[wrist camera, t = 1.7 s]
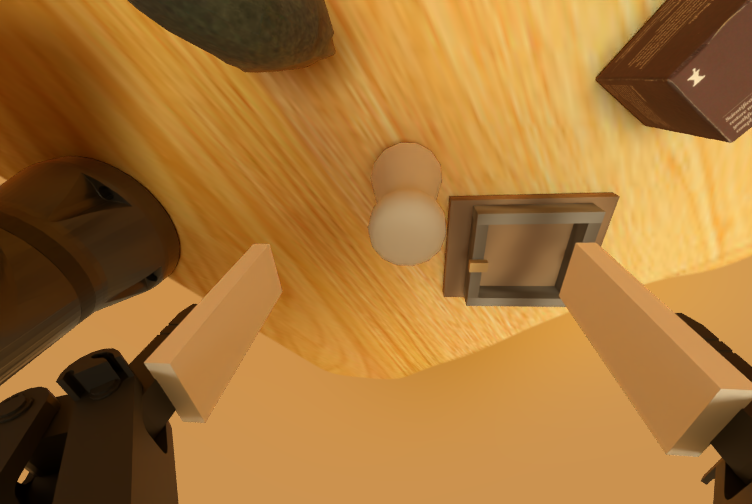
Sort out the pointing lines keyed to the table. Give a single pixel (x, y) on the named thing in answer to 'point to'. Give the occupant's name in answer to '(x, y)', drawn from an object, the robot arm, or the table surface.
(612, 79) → the box
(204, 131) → the table surface
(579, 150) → the table surface
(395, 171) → the salt shaker
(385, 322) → the table surface
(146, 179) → the table surface
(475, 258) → the base
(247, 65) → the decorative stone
